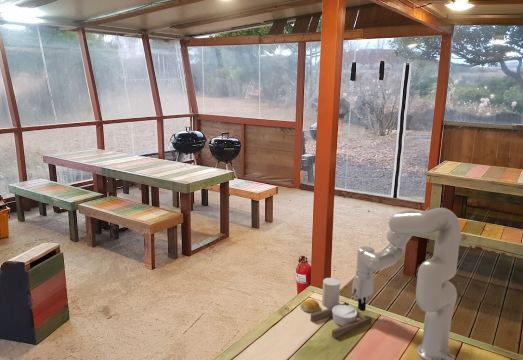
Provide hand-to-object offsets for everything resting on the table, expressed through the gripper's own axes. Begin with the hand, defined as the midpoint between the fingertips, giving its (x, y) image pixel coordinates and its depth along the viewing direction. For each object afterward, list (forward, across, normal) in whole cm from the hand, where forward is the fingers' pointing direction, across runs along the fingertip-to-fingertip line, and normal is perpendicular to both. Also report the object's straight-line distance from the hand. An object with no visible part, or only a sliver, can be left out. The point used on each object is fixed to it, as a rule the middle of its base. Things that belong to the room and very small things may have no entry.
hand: (361, 309), depth 199 cm
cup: (+3, +6, -15) cm, 16 cm away
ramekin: (+3, +11, 0) cm, 11 cm away
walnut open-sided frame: (+3, +13, 0) cm, 13 cm away
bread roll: (+3, +17, -17) cm, 24 cm away
